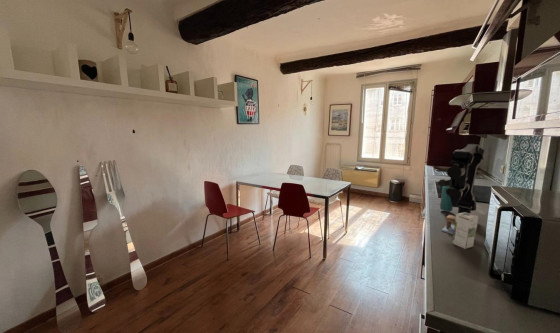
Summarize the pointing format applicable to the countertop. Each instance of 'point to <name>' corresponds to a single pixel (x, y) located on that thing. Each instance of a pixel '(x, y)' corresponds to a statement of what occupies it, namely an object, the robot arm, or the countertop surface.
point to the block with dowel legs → (450, 220)
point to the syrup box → (465, 230)
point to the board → (450, 230)
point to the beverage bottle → (445, 200)
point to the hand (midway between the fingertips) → (455, 204)
